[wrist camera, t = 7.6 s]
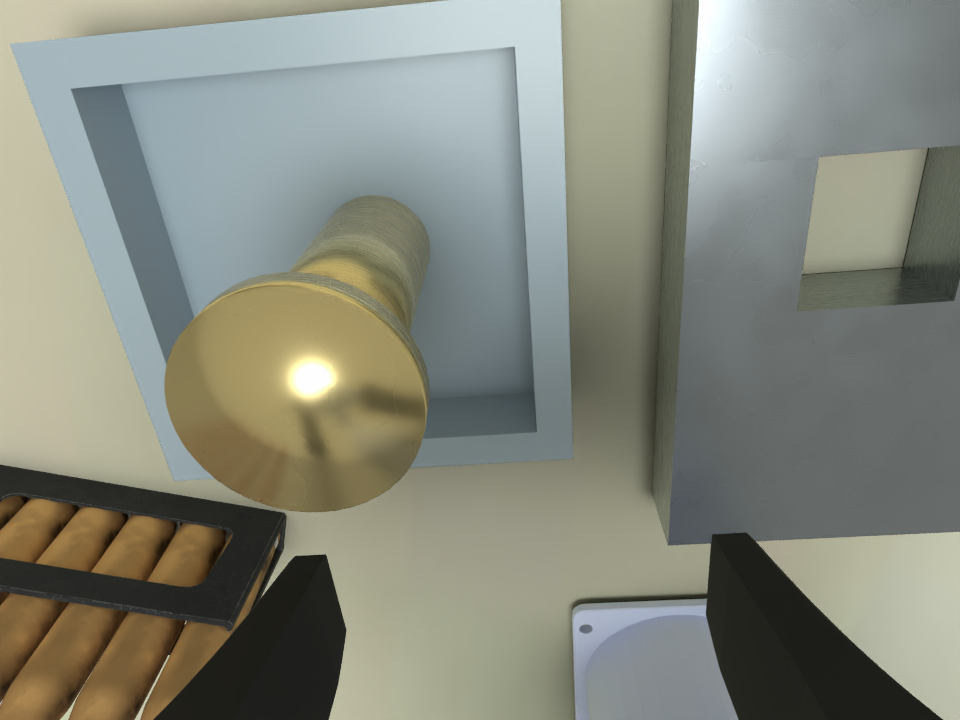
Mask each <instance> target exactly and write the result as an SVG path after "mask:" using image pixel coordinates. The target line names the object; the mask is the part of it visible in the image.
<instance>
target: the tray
mask: <svg viewBox="0 0 960 720" xmlns="http://www.w3.org/2000/svg"><path fill="white" fill-rule="evenodd" d="M10 46H11V48H12V51H13V54H14V56H15V59H16V62H17V64H18V67H19V70H20V72H21V75H22V78H23V80H24V83H25V86H26V88H27V91H28V94H29V96H30V99H31V102H32V104H33V107H34V109H35V112H36V115H37V117H38V120H39V123H40V125H41V128H42V131H43V133H44V136H45V139H46V141H47V144H48V147H49V149H50V152H51V155H52V157H53V160H54V163H55V165H56V168H57V171H58V173H59V176H60V179H61V181H62V184H63V187H64V189H65V192H66V195H67V197H68V200H69V203H70V205H71V208H72V211H73V213H74V216H75V219H76V221H77V224H78V227H79V229H80V232H81V235H82V237H83V240H84V243H85V245H86V248H87V251H88V253H89V256H90V259H91V261H92V264H93V267H94V269H95V272H96V275H97V277H98V280H99V283H100V285H101V288H102V291H103V293H104V296H105V299H106V301H107V304H108V306H109V309H110V312H111V314H112V317H113V320H114V322H115V325H116V328H117V330H118V333H119V336H120V338H121V341H122V344H123V346H124V349H125V352H126V354H127V357H128V360H129V362H130V365H131V368H132V370H133V373H134V376H135V378H136V381H137V384H138V386H139V389H140V392H141V394H142V397H143V400H144V402H145V405H146V408H147V410H148V413H149V416H150V418H151V421H152V424H153V426H154V429H155V432H156V434H157V437H158V440H159V442H160V445H161V448H162V450H163V453H164V456H165V458H166V461H167V464H168V466H169V469H170V472H171V474H172V477H173V480H174V481H183V480H201V479H215V478H214V477H213V476H212V475H210V474H209V473H208V472H207V471H206V470H205V469H204V468H203V467H202V466H201V465H200V464H199V463H198V462H197V461H196V460H195V459H194V458H193V457H192V456H191V454H190V453H189V452H188V450H187V449H186V448H185V447H184V445H183V443H182V442H181V440H180V438H179V437H178V435H177V433H176V431H175V429H174V427H173V424H172V422H171V420H170V416H169V413H168V409H167V406H166V399H165V392H164V381H165V371H166V366H167V361H168V358H169V356H170V353H171V350H172V348H173V346H174V344H175V342H176V341H177V339H178V337H179V335H180V334H181V333H182V332H183V330H184V329H185V328H186V327H187V326H188V324H189V323H190V322H191V321H192V320H193V319H194V318H195V317H196V316H197V315H198V314H199V313H200V312H201V311H202V310H203V309H204V308H205V307H206V306H207V305H208V304H209V303H210V302H211V301H212V300H213V299H214V298H216V297H217V296H218V295H219V294H220V293H222V292H223V291H225V290H226V289H228V288H230V287H231V286H233V285H235V284H237V283H240V282H242V281H244V280H246V279H249V278H253V277H256V276H260V275H264V274H271V273H278V272H288V271H289V270H290V269H291V267H292V266H293V265H294V264H295V262H296V261H297V260H298V259H299V257H300V256H301V255H302V254H303V252H304V251H305V250H306V248H307V247H308V246H309V245H310V243H311V242H312V241H313V240H314V238H315V237H316V236H317V235H318V233H319V232H320V231H321V229H322V228H323V227H324V226H325V224H326V223H327V222H328V221H329V219H330V218H331V217H332V216H333V214H334V213H335V212H336V211H337V210H338V209H339V208H340V207H341V206H342V205H344V204H345V203H347V202H348V201H350V200H353V199H355V198H358V197H361V196H368V195H378V196H385V197H389V198H392V199H395V200H397V201H399V202H401V203H403V204H404V205H406V206H407V207H409V208H410V209H411V210H412V211H413V212H414V213H415V214H416V215H417V216H418V217H419V218H420V220H421V221H422V223H423V225H424V227H425V229H426V231H427V234H428V237H429V241H430V260H429V264H428V268H427V271H426V275H425V279H424V282H423V286H422V290H421V293H420V297H419V301H418V304H417V308H416V312H415V315H414V319H413V323H412V326H411V330H410V334H411V335H412V337H413V338H414V340H415V342H416V344H417V346H418V348H419V349H420V351H421V354H422V356H423V359H424V362H425V364H426V368H427V373H428V378H429V388H430V398H429V408H428V414H427V420H426V425H425V431H424V435H423V439H422V444H421V447H420V449H419V451H418V454H417V456H416V458H415V460H414V461H413V463H412V465H411V466H410V468H418V467H436V466H454V465H472V464H490V463H508V462H526V461H544V460H562V459H573V434H572V398H571V362H570V326H569V291H568V255H567V219H566V183H565V147H564V111H563V75H562V39H561V3H560V0H446V1H436V2H426V3H416V4H406V5H396V6H386V7H376V8H366V9H356V10H346V11H336V12H326V13H316V14H306V15H296V16H286V17H275V18H265V19H255V20H245V21H235V22H225V23H215V24H205V25H195V26H185V27H175V28H165V29H155V30H145V31H135V32H125V33H115V34H105V35H95V36H85V37H75V38H65V39H55V40H45V41H35V42H25V43H15V44H10Z"/></svg>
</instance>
